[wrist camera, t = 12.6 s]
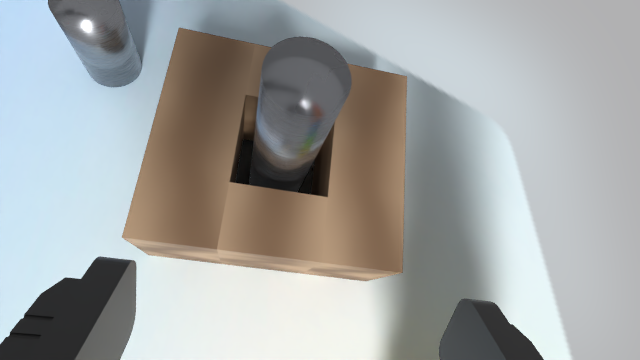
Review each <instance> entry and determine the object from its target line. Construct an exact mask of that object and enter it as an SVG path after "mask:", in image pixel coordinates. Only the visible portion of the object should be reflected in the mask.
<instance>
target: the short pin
mask: <svg viewBox="0 0 640 360" xmlns="http://www.w3.org/2000/svg"><path fill="white" fill-rule="evenodd" d="M48 5H49V8H50V10H51V12H52V14H53V15H54V17H55V19H56V20H57V22H58V24H59V25H60V27H61V28H62V30H63V32H64V33H65V35H66V37H67V38H68V40H69V42H70V43H71V45H72V46H73V48H74V50H75V51H76V53H77V55H78V56H79V58H80V60H81V61H82V63H83V64H84V66H85V68H86V69H87V71H88V73H89V74H90V76H91V77H92V78H93V79H94V80H95V81H96V82H97V83H99V84H101V85H104V86H108V87H121V86H125V85H127V84H129V83H131V82H133V81H134V80H135V79H136V78H137V77H138V76H139V74H140V72H141V68H142V63H141V59H140V56H139V54H138V51H137V48H136V46H135V43H134V40H133V38H132V35H131V32H130V30H129V27H128V24H127V21H126V19H125V16H124V13H123V11H122V8H121V5H120V3H119V0H48Z"/></svg>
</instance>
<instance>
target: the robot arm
mask: <svg viewBox="0 0 640 360" xmlns="http://www.w3.org/2000/svg"><path fill="white" fill-rule="evenodd" d="M135 313H136V262H135V261H134V260H125V259H116V258H107V257H97V258H96V259H95V260H94V261H93V263H92V264H91V266H90V267H89V268H88V270H87V271H86V273H85V274H84V276H83V277H82V278H81V279H75V278H64V279H63V280H61V281H60V282H58V283H57V284H55V285H54V286H52V287H51V288H49V289H48V290H46V291H44V292H43V293H41V295H40V296H39V297H38V298H37V299H36V301H35V302H34V303H33V304H32V306H31V307H30V308H29V309H28V311H27V312H26V313H25V314H24V318H23V319H20V321H19V322H18V323H17V324H16V326H15V327H14V328H13V329H12V331H11V332H10V335H9V337H6V338H5V339H4V341H3V342H2V343H1V344H0V360H120V358H121V356H122V354H123V351H124V349H125V347H126V345H127V343H128V340H129V338H130V335H131V332H132V329H133V325H134V320H135ZM439 357H440V360H544V359H543V358H542V356H541V355H540V354H539V352H538V351H537V349H536V348H535V346H534V345H533V344H532V342H531V341H530V340H529V339H528V338H527V337H526V336H524V335H523V334H522V333H521V332H520V331H519V330H518V329H517V328H516V327H515V326H514V325H512V324H510V323H509V322H508V320H507V319H506V318H505V316H504V315H503V313H502V312H501V310H500V309H499V307H498V306H497V305H496V304H495V303H493V302H490V301H481V300H472V299H462V300H461V301H460V302H459V303H458V305H457V307H456V309H455V311H454V314H453V316H452V318H451V320H450V322H449V324H448V326H447V328H446V330H445V333H444V335H443V337H442V339H441V342H440V347H439Z"/></svg>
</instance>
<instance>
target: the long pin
mask: <svg viewBox="0 0 640 360" xmlns="http://www.w3.org/2000/svg"><path fill="white" fill-rule="evenodd" d="M351 84H352V79H351V73H350V69H349V67H348V65H347V63H346V61H345V59H344V58H343V57H342V56H341V54H340V53H339V52H338V51H337V50H335V49H334V48H333V47H331V46H330V45H328V44H327V43H325V42H323V41H320V40H317V39H314V38H309V37H293V38H289V39H285V40H283V41H281V42H279V43H277V44H276V45H274V46H273V47H272V48H271V49H270V50H269V51H268V53H267V54H266V56H265V58H264V60H263V64H262V70H261V79H260V88H259V97H258V106H257V115H256V124H255V133H254V142H253V151H252V160H251V169H250V178H249V185H252V186H258V187H265V188H271V189H278V190H284V191H291V192H298V190H299V188H300V186H301V184H302V183H303V181H304V179H305V177H306V175H307V173H308V171H309V169H310V167H311V166H312V164H313V162H314V160H315V158H316V156H317V154H318V152H319V150H320V149H321V147H322V145H323V143H324V141H325V139H326V137H327V135H328V133H329V132H330V130H331V128H332V126H333V124H334V122H335V120H336V118H337V116H338V115H339V113H340V111H341V109H342V107H343V105H344V103H345V101H346V99H347V97H348V95H349V93H350V90H351Z"/></svg>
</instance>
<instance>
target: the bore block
mask: <svg viewBox="0 0 640 360" xmlns="http://www.w3.org/2000/svg"><path fill="white" fill-rule="evenodd" d="M271 48H272V47H267V46H263V45H258V44H253V43H249V42H244V41H239V40H235V39H230V38H225V37H221V36H216V35H211V34H207V33H202V32H197V31H193V30H188V29H183V28H179V29H178V33H177V37H176V40H175V44H174V48H173V51H172V55H171V59H170V62H169V66H168V70H167V73H166V77H165V81H164V85H163V88H162V92H161V96H160V99H159V103H158V107H157V110H156V114H155V118H154V121H153V125H152V129H151V132H150V136H149V140H148V143H147V147H146V151H145V154H144V158H143V162H142V165H141V169H140V173H139V176H138V180H137V184H136V188H135V191H134V195H133V199H132V202H131V206H130V210H129V213H128V217H127V221H126V224H125V228H124V232H123V235H122V238H124V239H125V240H127V241H128V242H130V243H131V244H133V245H134V246H136V247H137V248H139V249H140V250H142V251H143V252H145V253H146V254H148V255H153V256H161V257H170V258H178V259H186V260H194V261H203V262H211V263H219V264H228V265H236V266H244V267H253V268H261V269H269V270H278V271H286V272H294V273H302V274H311V275H319V276H327V277H336V278H344V279H352V280H361V281H369V280H373V279H378V278H382V277H386V276H391V275H395V274H400V273H403V229H404V184H405V140H406V95H407V76H403V75H398V74H393V73H389V72H384V71H379V70H375V69H370V68H365V67H361V66H356V65H351V64H347V65H348V67H349V69H350V73H351V79H352V84H351V90H350V93H349V95H348V97H347V99H346V101H345V103H344V105H343V107H342V109H341V111H340V113H339V115H338V116H337V118H336V120H335V122H334V124H333V126H332V128H331V130H330V132H329V133H328V135H327V137H326V139H325V141H324V143H323V145H322V147H321V149H320V150H319V152H318V154H317V156H316V158H315V160H314V170H313V179H312V188H311V195H310V194H304V193H297V192H291V191H284V190H278V189H271V188H265V187H258V186H252V185H245V184H239V183H236V177H237V172H238V166H239V160H240V155H241V149H242V144H243V139H244V140H250V141H254V133H255V124H256V115H257V106H258V97H259V88H260V79H261V70H262V64H263V60H264V58H265V56H266V54H267V53H268V51H269V50H270V49H271Z"/></svg>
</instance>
